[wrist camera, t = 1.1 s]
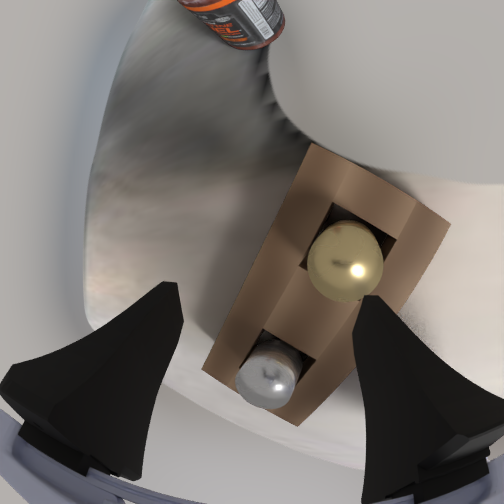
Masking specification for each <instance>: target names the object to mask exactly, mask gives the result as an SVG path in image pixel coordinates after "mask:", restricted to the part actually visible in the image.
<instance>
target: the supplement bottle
mask: <svg viewBox="0 0 504 504" xmlns="http://www.w3.org/2000/svg"><path fill="white" fill-rule="evenodd" d="M177 1H178V2H179V3H180V4H182V5H183V6H184V7H185V8H187V9H188V10H189V11H190V12H192V13H193V14H194V15H195V16H197V18H199V19H200V20H201V21H203V22H204V23H205V24H206V25H207V26H208V27H209V28H211V29H212V30H213V31H214V32H215V33H216V34H217V35H219V36H220V37H221V38H222V39H223V40H224V41H225V42H226V43H228V44H229V45H231V46H232V47H234V48H237V49H242V50H253V49H258V48H262V47H264V46H266V45H268V44H270V43H271V42H273V41H274V40H275V39H277V38H278V37H279V35H280V34H281V33H282V31H283V29H284V26H285V18H284V14H283V12H282V10H281V8H280V6H279V4H278V3H277V1H276V0H177Z"/></svg>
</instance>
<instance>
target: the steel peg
mask: <svg viewBox="0 0 504 504" xmlns="http://www.w3.org/2000/svg"><path fill="white" fill-rule="evenodd" d="M302 366H303V361H302V358H301V355H300V353H299V352H298V351H297V350H296V348H294V347H293V346H292V345H290V344H288V343H286V342H284V341H281V340H267V341H264V342H262V343H260V344H259V345H258V346H257V347H256V348H255V350H254V351H253V353H252V354H251V355H250V357H249V358H248V359H247V361H246V362H245V364H244V365H243V366H242V368H241V369H240V370H239V372H238V373H237V375H236V378H235V385H236V388H237V390H238V392H239V394H240V395H241V396H242V397H243V398H244V399H245V400H246V401H247V402H249V403H250V404H252V405H254V406H256V407H259V408H263V409H276V408H280V407H282V406H284V405H285V404H286V403H287V402H288V401H289V400H290V397H291V395H292V393H293V390H294V388H295V385H296V383H297V380H298V378H299V375H300V373H301V370H302Z"/></svg>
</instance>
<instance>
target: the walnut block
mask: <svg viewBox="0 0 504 504" xmlns="http://www.w3.org/2000/svg"><path fill="white" fill-rule="evenodd" d="M334 204H337V205H339V206H341V207H343V208H344V209H346V210H348V211H350V212H352V213H353V214H355V215H357V216H359V217H360V218H362V219H364V220H365V221H367V222H369V223H370V224H372V225H374V226H376V227H377V228H379V229H381V230H382V231H384V232H385V233H387V236H386V238H385V240H384V242H383V243H382V245H381V247H380V250H381V252H382V256H383V273H382V276H381V279H380V281H379V283H378V285H377V286H376V287H375V289H374V290H373V291H372V292H371V293H370V294H368V295H378V296H380V297H381V298H382V299H383V300H384V302H385V303H386V304H387V305H388V306H389V307H390V308H391V309H392V310H393V311H394V312H395V313H396V315H397V313H398V312H399V310H400V309H401V308H402V306H403V305H404V303H405V302H406V300H407V299H408V297H409V296H410V294H411V293H412V291H413V290H414V288H415V287H416V285H417V283H418V282H419V280H420V279H421V277H422V275H423V274H424V272H425V270H426V269H427V267H428V265H429V264H430V262H431V260H432V259H433V257H434V255H435V253H436V252H437V250H438V248H439V246H440V244H441V242H442V241H443V239H444V237H445V235H446V233H447V231H448V229H449V227H450V225H451V224H450V223H449V222H448V221H446V220H445V219H443V218H442V217H441V216H439V215H438V214H436V213H435V212H433V211H432V210H431V209H429V208H428V207H426V206H425V205H423V204H422V203H420V202H418V201H417V200H415V199H414V198H412V197H411V196H409V195H408V194H406V193H404V192H403V191H401V190H399V189H398V188H396V187H395V186H393V185H391V184H390V183H388V182H386V181H384V180H383V179H381V178H379V177H377V176H376V175H374V174H372V173H370V172H369V171H367V170H365V169H363V168H361V167H359V166H357V165H356V164H354V163H352V162H350V161H348V160H346V159H344V158H342V157H340V156H338V155H336V154H334V153H332V152H330V151H328V150H326V149H324V148H322V147H320V146H318V145H315V144H313V143H311V145H310V147H309V149H308V151H307V154H306V156H305V158H304V160H303V162H302V164H301V166H300V168H299V170H298V172H297V174H296V176H295V179H294V181H293V183H292V185H291V187H290V189H289V191H288V193H287V195H286V197H285V199H284V201H283V204H282V206H281V208H280V210H279V212H278V214H277V216H276V218H275V220H274V222H273V224H272V226H271V228H270V230H269V232H268V235H267V237H266V239H265V241H264V243H263V245H262V247H261V249H260V251H259V253H258V255H257V257H256V259H255V261H254V263H253V265H252V267H251V269H250V272H249V274H248V276H247V278H246V280H245V282H244V284H243V286H242V288H241V290H240V292H239V294H238V296H237V298H236V300H235V302H234V304H233V306H232V308H231V310H230V312H229V314H228V316H227V318H226V321H225V323H224V325H223V327H222V329H221V331H220V333H219V335H218V337H217V339H216V341H215V343H214V345H213V347H212V349H211V351H210V353H209V355H208V357H207V359H206V361H205V363H204V365H203V367H202V370H203V371H205V372H206V373H208V374H209V375H210V376H212V377H213V378H215V379H216V380H218V381H219V382H221V383H223V384H224V385H226V386H227V387H229V388H230V389H232V390H234V391H235V392H237V393H238V394H239V392H238V390H237V388H236V385H235V378H236V375H237V373H238V372H239V370H240V369H241V368H242V366H243V365H244V364H245V362H246V361H247V359H248V358H249V357H250V355H251V354H252V353H253V351H254V350H255V348H256V347H257V345H256V343H257V342H258V340H259V339H260V337H261V335H262V334H263V332H264V330H266V331H268V332H270V333H271V334H273V335H275V336H276V337H278V338H280V339H281V340H283V341H285V342H286V343H288V344H290V345H292V346H293V347H295V348H297V349H298V350H300V351H302V352H304V353H305V354H307V355H309V356H308V357H307V359H306V360H305V361H304V362H303V366H302V370H301V373H300V375H299V378H298V380H297V383H296V385H295V388H294V390H293V393H292V395H291V397H290V400H289V401H288V402H287V403H286V404H285V405H284V406H282V407H280V408H276V409H265V410H267V411H269V412H271V413H273V414H274V415H276V416H278V417H280V418H282V419H284V420H286V421H287V422H289V423H291V424H293V425H295V426H297V427H298V426H299V425H300V424H301V423H302V422H303V421H304V420H305V419H306V418H307V417H308V416H309V415H311V414H312V413H313V412H314V411H315V410H316V409H317V408H318V407H319V406H320V405H321V404H322V403H323V402H324V401H325V400H326V399H327V398H328V397H329V396H330V394H331V393H332V392H333V391H334V390H335V389H336V388H337V387H338V386H339V385H340V384H341V383H342V382H343V381H344V379H345V378H346V377H347V376H348V375H349V374H350V373H351V372H352V370H353V369H354V368H355V367H356V362H355V358H354V350H353V340H352V331H353V328H354V325H355V322H356V319H357V316H358V313H359V310H360V307H361V304H362V300H363V298H362V299H360V300H357V301H353V302H338V301H334V300H331V299H329V298H327V297H325V296H324V295H322V294H321V293H320V292H319V291H318V290H317V289H316V288H315V286H314V285H313V283H312V281H311V279H310V277H309V274H308V268H307V260H308V255H309V251H310V249H311V247H312V245H313V243H314V242H315V241H316V239H317V237H318V235H319V233H320V231H321V229H322V227H323V225H324V224H325V222H326V220H327V218H328V216H329V214H330V212H331V210H332V208H333V206H334Z"/></svg>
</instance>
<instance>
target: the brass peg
mask: <svg viewBox="0 0 504 504" xmlns="http://www.w3.org/2000/svg"><path fill="white" fill-rule="evenodd" d="M307 268H308V274H309V277H310V279H311V281H312V283H313V285H314V286H315V288H316V289H317V290H318V291H319V292H320V293H321V294H322V295H324V296H325V297H327V298H329V299H331V300H334V301H338V302H353V301H357V300H360V299H362V298H363V297H364V295H368V294H370V293H371V292H372V291H373V290H374V289H375V287H376V286H377V285H378V283H379V281H380V279H381V276H382V273H383V256H382V252H381V250H380V247H379V245H378V243H377V240H376V238H375V236H374V234H373V233H372V232H371V230H370V229H369V228H368V227H367V226H365V225H364V224H362V223H360V222H357V221H354V220H341V221H337V222H335V223H333V224H331V225H330V226H328V227H327V228H326V229H325V230H324V231H323V232H322V234H321V235H320V236H319V237H318V238H317V239H316V241H315V242H314V243H313V245H312V247H311V249H310V251H309V255H308V260H307Z"/></svg>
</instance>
